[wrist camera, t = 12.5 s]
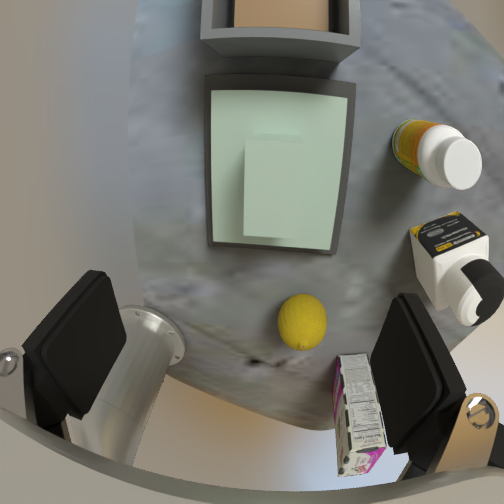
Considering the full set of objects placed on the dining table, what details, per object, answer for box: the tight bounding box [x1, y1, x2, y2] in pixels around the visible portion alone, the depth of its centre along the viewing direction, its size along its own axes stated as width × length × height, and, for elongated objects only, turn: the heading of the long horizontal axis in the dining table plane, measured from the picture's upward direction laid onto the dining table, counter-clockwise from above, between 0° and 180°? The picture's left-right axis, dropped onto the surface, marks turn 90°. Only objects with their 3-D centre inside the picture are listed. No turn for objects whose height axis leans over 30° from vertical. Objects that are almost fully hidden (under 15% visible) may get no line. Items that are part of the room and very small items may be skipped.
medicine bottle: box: [409, 211, 504, 326], centre depth 24 cm, size 7×7×12 cm
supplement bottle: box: [392, 119, 482, 190], centre depth 20 cm, size 5×5×10 cm
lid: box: [211, 90, 347, 250], centre depth 23 cm, size 15×12×8 cm
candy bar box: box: [332, 353, 387, 477], centre depth 34 cm, size 11×5×16 cm, turn 7°
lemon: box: [278, 294, 327, 351], centre depth 31 cm, size 6×6×8 cm
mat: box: [205, 74, 356, 255], centre depth 27 cm, size 18×14×1 cm
